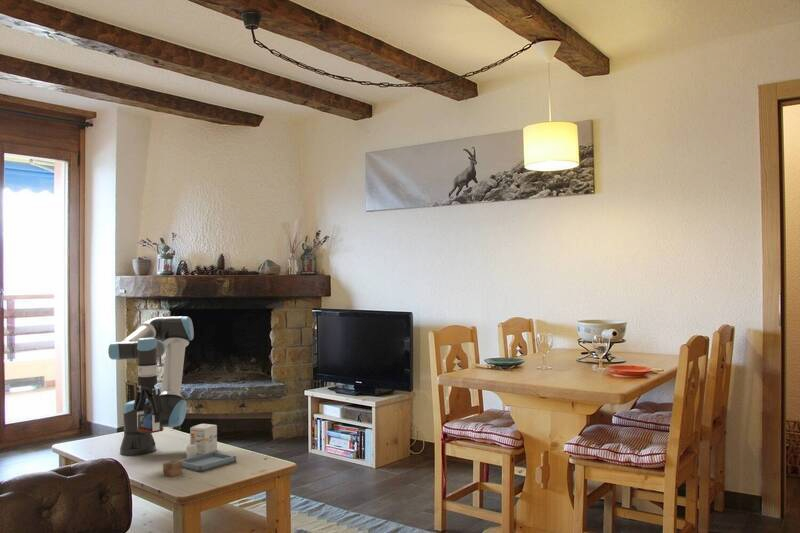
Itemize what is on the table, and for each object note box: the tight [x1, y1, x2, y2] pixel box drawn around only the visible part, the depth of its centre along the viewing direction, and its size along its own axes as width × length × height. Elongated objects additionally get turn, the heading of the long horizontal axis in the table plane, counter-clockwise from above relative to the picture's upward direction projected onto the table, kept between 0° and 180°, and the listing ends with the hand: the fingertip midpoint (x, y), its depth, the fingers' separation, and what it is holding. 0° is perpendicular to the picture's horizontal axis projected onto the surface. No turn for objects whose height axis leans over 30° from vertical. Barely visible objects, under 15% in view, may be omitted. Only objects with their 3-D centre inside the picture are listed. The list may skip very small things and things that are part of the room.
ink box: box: [189, 423, 218, 455], centre depth 295 cm, size 9×8×12 cm
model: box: [136, 411, 165, 434], centre depth 272 cm, size 12×9×9 cm
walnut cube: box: [162, 459, 183, 478], centre depth 260 cm, size 5×5×5 cm
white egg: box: [186, 444, 198, 459], centre depth 282 cm, size 4×4×6 cm
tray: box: [178, 451, 237, 473], centre depth 274 cm, size 15×18×2 cm
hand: (148, 428), depth 271 cm, fingers closed on model, 11 cm apart
